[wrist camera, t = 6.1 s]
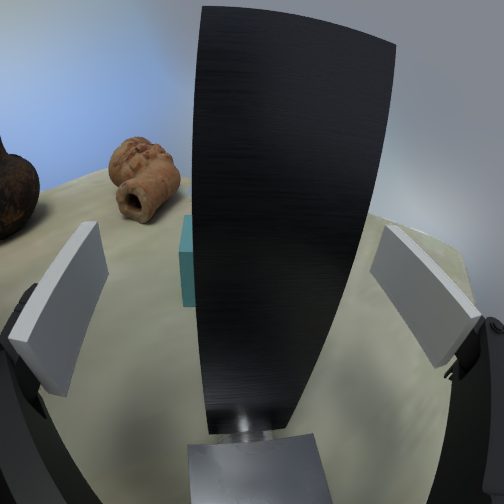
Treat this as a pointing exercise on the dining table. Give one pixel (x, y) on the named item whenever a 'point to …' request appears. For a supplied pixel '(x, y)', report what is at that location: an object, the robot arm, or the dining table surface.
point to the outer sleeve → (258, 473)
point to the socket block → (187, 263)
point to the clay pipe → (142, 177)
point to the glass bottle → (16, 191)
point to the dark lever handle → (277, 200)
